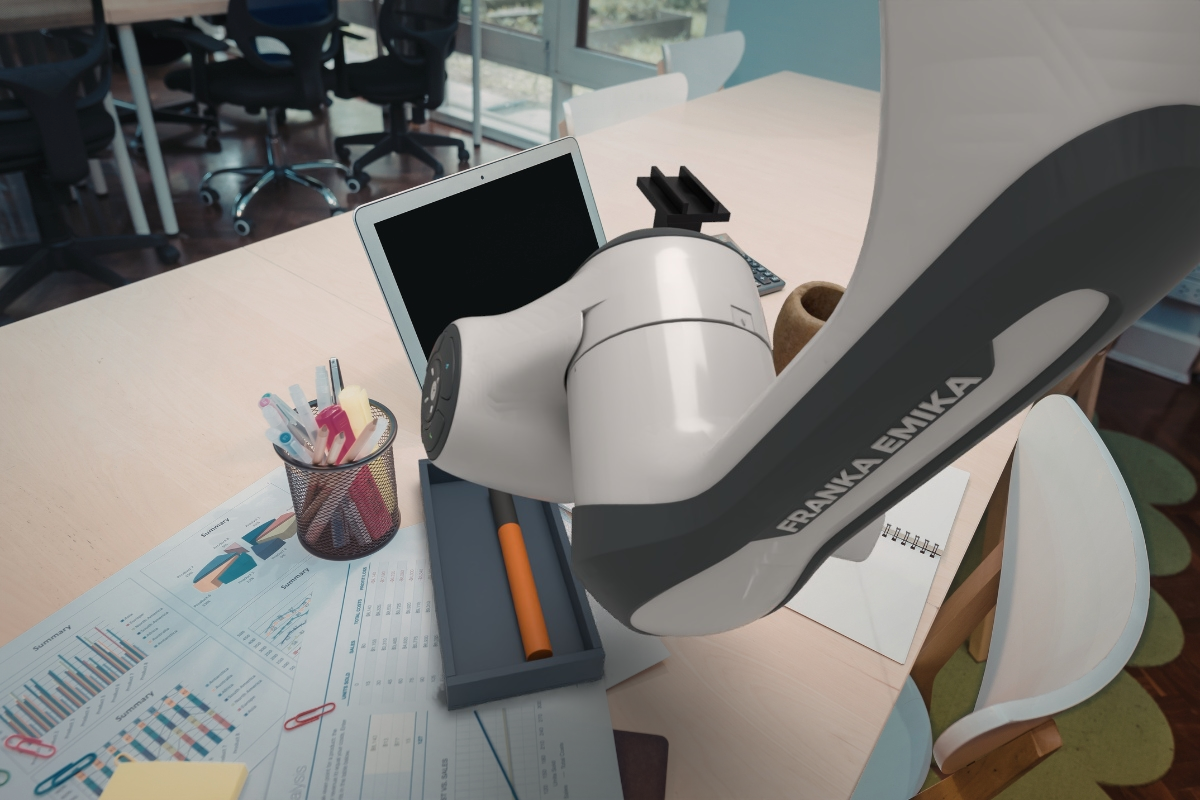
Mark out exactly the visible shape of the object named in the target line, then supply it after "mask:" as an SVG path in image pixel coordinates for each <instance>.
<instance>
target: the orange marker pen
mask: <svg viewBox="0 0 1200 800" xmlns="http://www.w3.org/2000/svg"><path fill="white" fill-rule="evenodd" d="M488 492H489V496H490V501H491V505H492V509H493V514H494V518H495V523H496V527H497V531H498V536H499V540H500V545H501V549H502V553H503V558H504V562H505V567H506V571H507V575H508V580H509V584H510V589H511V593H512V597H513V602H514V606H515V611H516V615H517V619H518V624H519V628H520V633H521V637H522V642H523V646H524V650H525V655H526V659H527V662H529V661H534V660H540V659H545V658H550V657H552V656H553V652H552V648H551V644H550V640H549V636H548V632H547V629H546V625H545V621H544V617H543V613H542V609H541V605H540V602H539V598H538V594H537V590H536V586H535V582H534V578H533V575H532V571H531V567H530V563H529V559H528V555H527V551H526V548H525V544H524V540H523V536H522V532H521V528H520V525H519V521H518V517H517V513H516V509H515V505H514V501H513V498H512V494H510V493H506V492H503V491H499V490H495V489H492V488H488Z"/></svg>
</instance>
